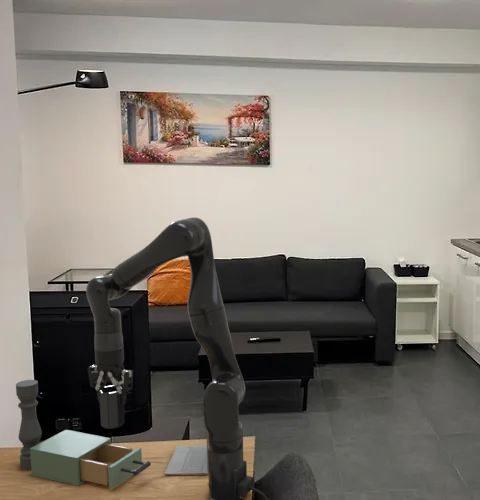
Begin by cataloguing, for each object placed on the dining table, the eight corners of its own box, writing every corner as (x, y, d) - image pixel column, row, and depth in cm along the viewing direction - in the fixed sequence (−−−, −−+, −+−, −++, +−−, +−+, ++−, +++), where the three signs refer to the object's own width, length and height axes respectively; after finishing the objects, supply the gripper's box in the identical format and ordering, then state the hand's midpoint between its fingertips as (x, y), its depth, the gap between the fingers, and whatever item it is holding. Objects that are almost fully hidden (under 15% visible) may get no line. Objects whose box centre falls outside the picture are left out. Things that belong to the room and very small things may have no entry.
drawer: (158, 472, 185) (157, 451, 184) (129, 493, 173) (128, 470, 172) (98, 459, 192) (97, 439, 191) (67, 479, 180) (66, 457, 180)
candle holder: (34, 471, 187) (29, 387, 183) (15, 468, 188) (9, 386, 184) (48, 461, 193) (43, 380, 189) (30, 459, 194) (24, 378, 190)
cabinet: (112, 464, 191) (110, 438, 190) (78, 486, 179) (76, 458, 177) (67, 454, 197) (66, 429, 196) (31, 475, 184) (29, 448, 183)
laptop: (176, 447, 202) (175, 407, 200) (217, 447, 203) (216, 407, 201) (164, 476, 184) (162, 432, 183) (208, 475, 185) (208, 431, 183)
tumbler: (129, 422, 186) (127, 387, 184) (114, 430, 180) (112, 394, 178) (111, 419, 188) (109, 384, 186) (96, 427, 182) (94, 391, 180)
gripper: (78, 347, 179) (81, 405, 182) (121, 352, 175) (124, 412, 177) (97, 340, 186) (100, 395, 189) (139, 345, 182) (141, 402, 184)
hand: (111, 403), depth 183 cm, fingers closed on tumbler, 6 cm apart
